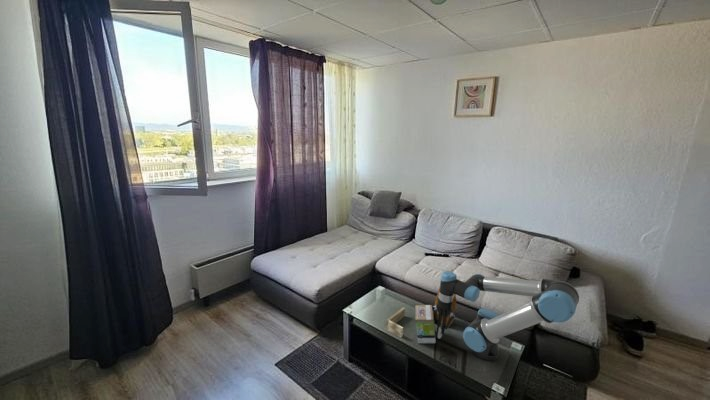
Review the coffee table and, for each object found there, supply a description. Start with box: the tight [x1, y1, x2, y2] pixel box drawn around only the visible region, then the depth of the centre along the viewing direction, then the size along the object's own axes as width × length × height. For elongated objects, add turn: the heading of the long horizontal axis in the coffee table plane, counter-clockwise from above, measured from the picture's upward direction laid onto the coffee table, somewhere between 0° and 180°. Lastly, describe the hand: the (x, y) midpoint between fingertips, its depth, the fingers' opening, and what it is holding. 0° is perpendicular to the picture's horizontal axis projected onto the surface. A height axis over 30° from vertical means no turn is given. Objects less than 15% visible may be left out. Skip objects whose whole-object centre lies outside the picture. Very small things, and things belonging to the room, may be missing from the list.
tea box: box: [414, 304, 437, 344], centre depth 164 cm, size 15×10×15 cm
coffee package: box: [433, 287, 457, 326], centre depth 179 cm, size 10×12×22 cm
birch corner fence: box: [384, 306, 406, 338], centre depth 173 cm, size 11×19×6 cm, turn 140°
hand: (439, 337), depth 160 cm, fingers closed
